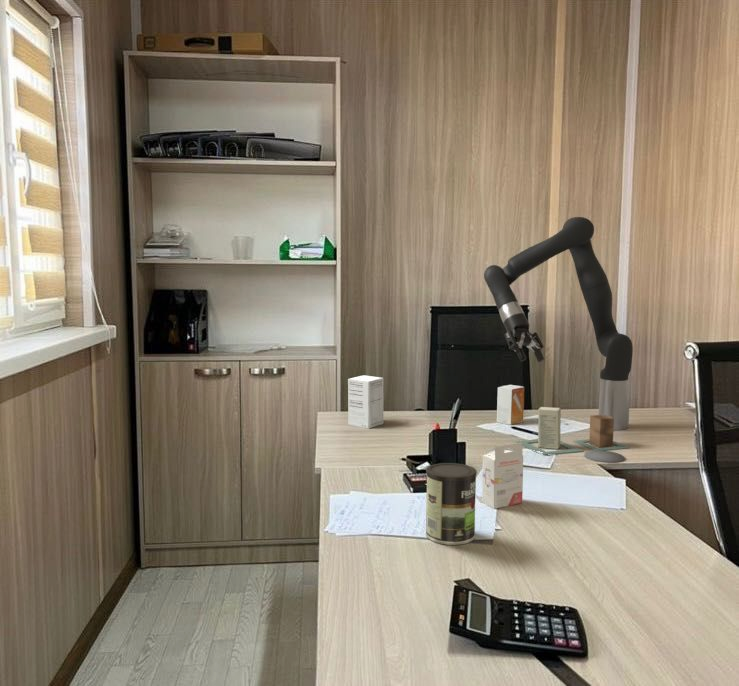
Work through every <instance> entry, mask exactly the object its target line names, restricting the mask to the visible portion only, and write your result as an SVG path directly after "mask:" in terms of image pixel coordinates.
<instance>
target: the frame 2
mask: <svg viewBox="0 0 739 686" xmlns="http://www.w3.org/2000/svg"><path fill="white" fill-rule="evenodd" d="M572 442H573V443H575V444H577V445H579V446H582V447H585V448H587V449H589V450H591V451H616V450H628V449H629V450H630V448H631V447H630V446H627V445H625V444H622V443H620V442H616V441H614V440H613V446H611V447H600V448H599V447H597V446H594V445H591V444H589V438H588V439H580V440H578V439H577V440H573V441H572Z"/></svg>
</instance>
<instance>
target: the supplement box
mask: <svg viewBox="0 0 739 686" xmlns="http://www.w3.org/2000/svg"><path fill="white" fill-rule="evenodd" d="M347 386H348V387H347V391H348V393H347V394H348V395H347V399H348V400H347V401H348V402H347V404H348V405H347V406H348V407H347V408H348V410H347V412H348V413H347V415H348V416H347V417H348V418H347V419H348V420H347V421H348V423H347V424H348V426H351V427H356V428H362V429H367V430H368V429H372V428H374V427H377V426H380V425H383V424H384V377H381V376H371V375H359V376H355V377H351V378H348V379H347Z"/></svg>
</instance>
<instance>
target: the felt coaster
mask: <svg viewBox="0 0 739 686" xmlns="http://www.w3.org/2000/svg"><path fill="white" fill-rule="evenodd" d="M584 457H585V458H586V459H587V460H590V461H593V462H599V463H606V464H607V463H608V464H615V463H621V462H624V461H625V456H624V455H623V454H620V453H619V452H618V453H617V452H614V451H611V450H608V451H594V450H587V451H586V452H584Z"/></svg>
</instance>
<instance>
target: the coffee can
mask: <svg viewBox="0 0 739 686" xmlns="http://www.w3.org/2000/svg"><path fill="white" fill-rule="evenodd" d="M425 472H426V509H425V510H426V511H425V512H426V517H425V518H426V519H425V520H426V522H425V524H426V525H425V526H426V527H425V537H426V538H427V540H430V541H431V542H434V543H436V544H440V545H445V546H446V545H447V546H461V545H466V544H469V543H471V542H472V541H474V540H475V538H476V535H475V533H476V532H475V530H476V528H475V527H476V493H477V492H476V491H477V489H476V488H477V487H476V486H477V481H476V480H477V469H476V468H475V467H473V466H470V465H467V464H463V463H459V462H458V463H455V462H439V463H434V464H431V465H429V466H427V467H426V469H425Z"/></svg>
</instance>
